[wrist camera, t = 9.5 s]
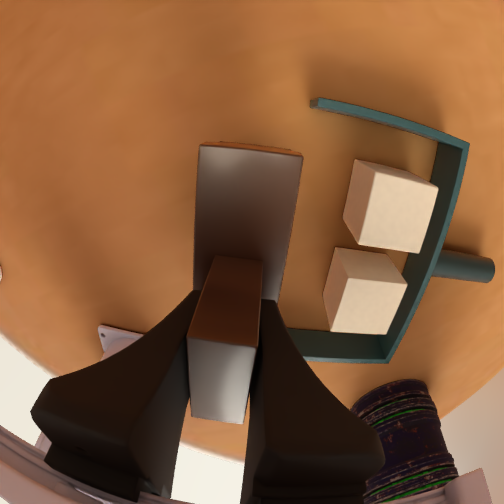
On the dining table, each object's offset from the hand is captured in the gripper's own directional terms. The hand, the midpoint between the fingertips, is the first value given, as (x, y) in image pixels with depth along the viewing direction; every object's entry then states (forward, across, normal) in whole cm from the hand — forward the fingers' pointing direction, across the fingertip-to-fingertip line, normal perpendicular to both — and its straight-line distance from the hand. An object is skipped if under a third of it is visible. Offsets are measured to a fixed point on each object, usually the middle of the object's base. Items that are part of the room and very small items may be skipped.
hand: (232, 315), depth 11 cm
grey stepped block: (+4, 0, 0) cm, 4 cm away
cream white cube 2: (+9, -8, -4) cm, 12 cm away
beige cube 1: (+9, -8, +2) cm, 12 cm away
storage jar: (+9, -18, +19) cm, 28 cm away
